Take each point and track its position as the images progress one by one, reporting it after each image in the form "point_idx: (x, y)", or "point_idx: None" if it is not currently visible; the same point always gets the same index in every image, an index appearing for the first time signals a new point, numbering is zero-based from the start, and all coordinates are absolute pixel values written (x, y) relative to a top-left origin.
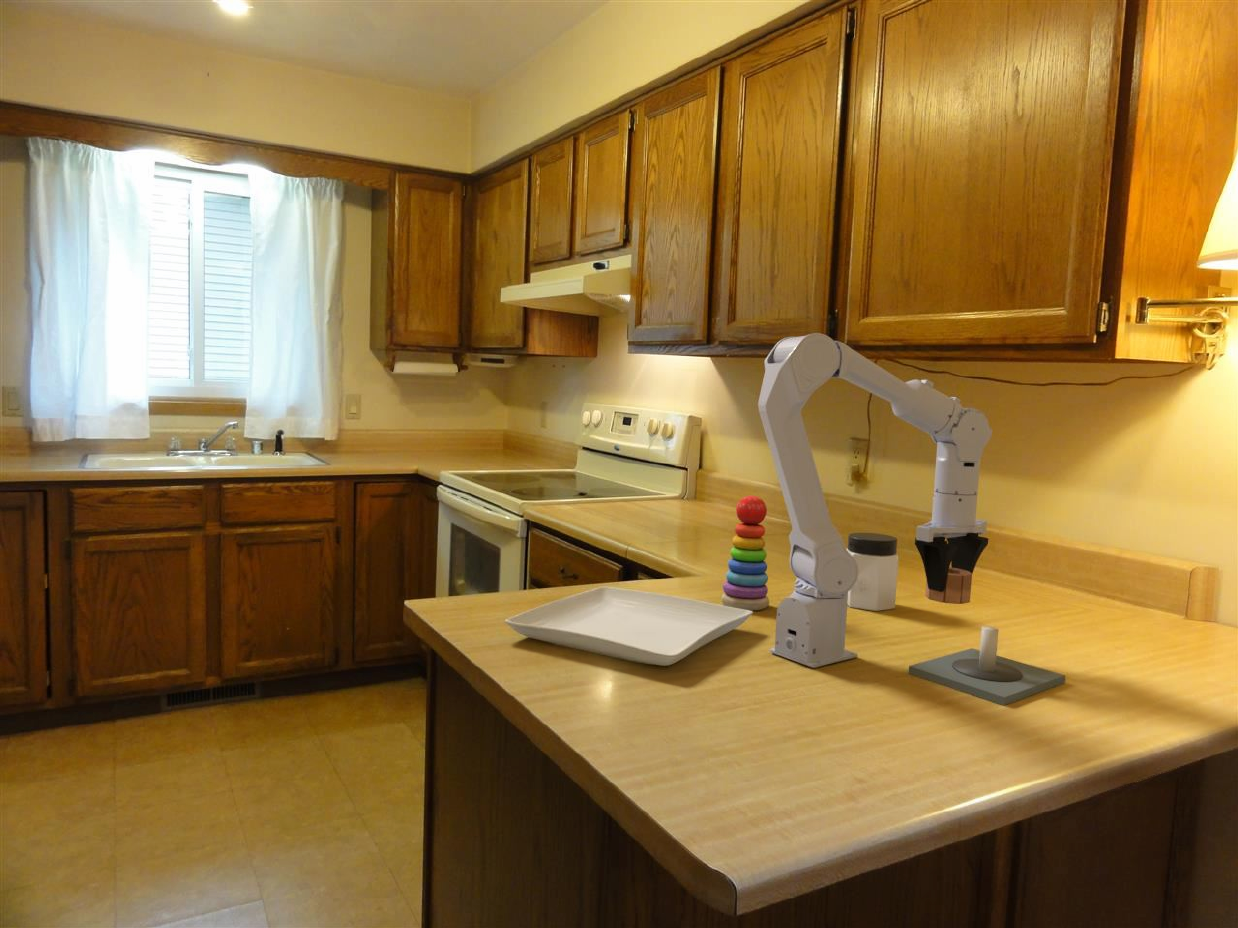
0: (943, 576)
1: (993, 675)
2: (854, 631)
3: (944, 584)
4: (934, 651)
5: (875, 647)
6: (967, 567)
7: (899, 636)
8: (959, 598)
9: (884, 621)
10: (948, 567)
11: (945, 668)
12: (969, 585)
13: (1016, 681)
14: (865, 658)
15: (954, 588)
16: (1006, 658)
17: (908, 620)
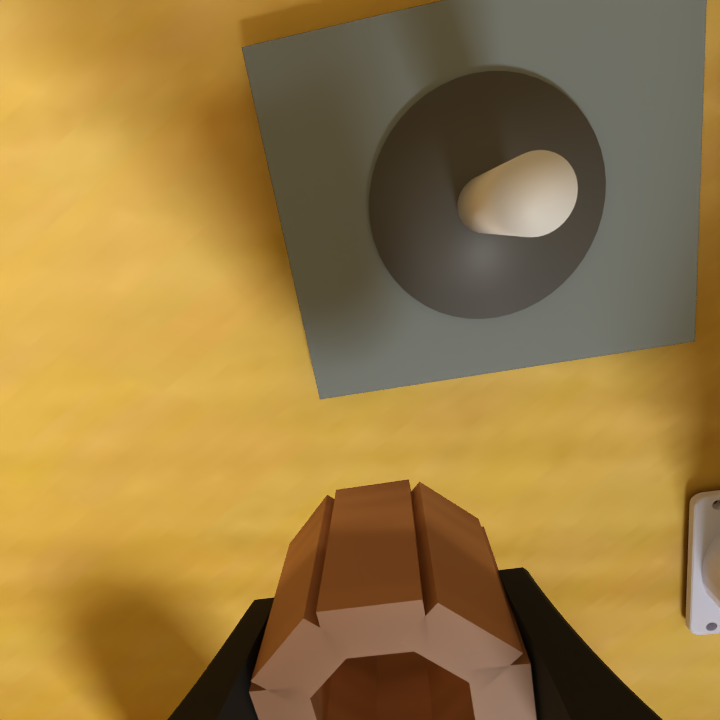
0: (577, 637)
1: (527, 140)
2: None
3: (528, 593)
4: (406, 456)
5: (548, 541)
6: (236, 714)
7: None
8: (424, 502)
9: None
10: (573, 697)
11: (601, 276)
12: (344, 550)
13: (490, 66)
14: (669, 481)
15: (460, 553)
16: (294, 278)
17: None
